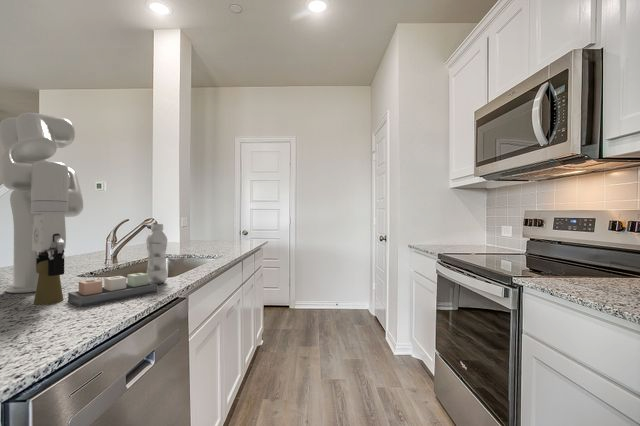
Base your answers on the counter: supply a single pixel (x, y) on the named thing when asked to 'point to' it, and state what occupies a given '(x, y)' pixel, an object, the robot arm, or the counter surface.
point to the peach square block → (90, 287)
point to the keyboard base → (110, 295)
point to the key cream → (115, 283)
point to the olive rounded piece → (47, 286)
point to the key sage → (137, 279)
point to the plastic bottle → (156, 255)
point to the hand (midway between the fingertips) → (50, 273)
